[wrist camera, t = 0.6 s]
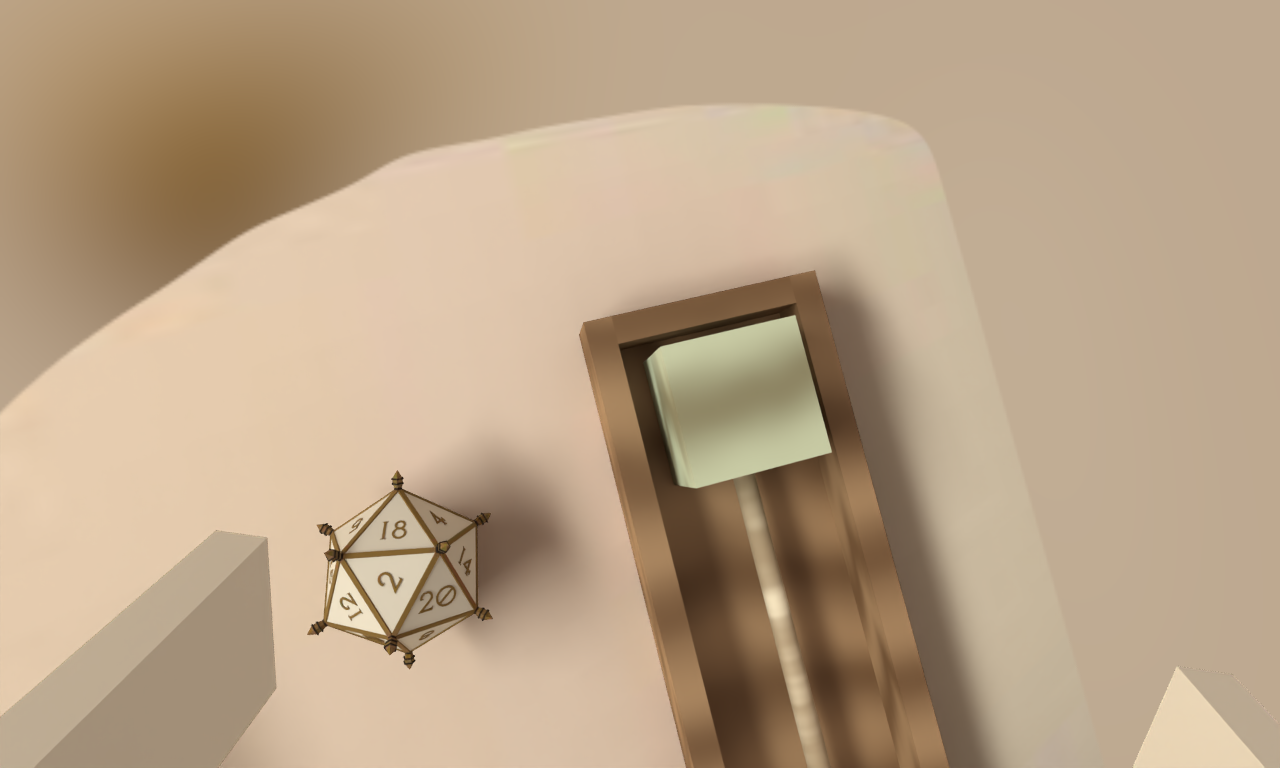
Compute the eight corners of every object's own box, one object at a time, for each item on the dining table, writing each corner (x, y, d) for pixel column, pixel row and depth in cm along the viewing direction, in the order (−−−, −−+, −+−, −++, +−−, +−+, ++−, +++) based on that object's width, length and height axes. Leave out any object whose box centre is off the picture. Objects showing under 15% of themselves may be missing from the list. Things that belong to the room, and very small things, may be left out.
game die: (445, 523, 45) (532, 467, 38) (444, 676, 41) (539, 644, 35) (285, 507, 40) (352, 439, 33) (267, 680, 36) (338, 644, 29)
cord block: (922, 953, 42) (1026, 1086, 33) (803, 998, 40) (878, 1148, 32) (759, 335, 44) (815, 303, 35) (642, 363, 43) (670, 337, 34)
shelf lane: (935, 825, 43) (974, 861, 39) (719, 902, 41) (739, 948, 37) (790, 287, 46) (814, 270, 42) (579, 335, 44) (583, 322, 40)
